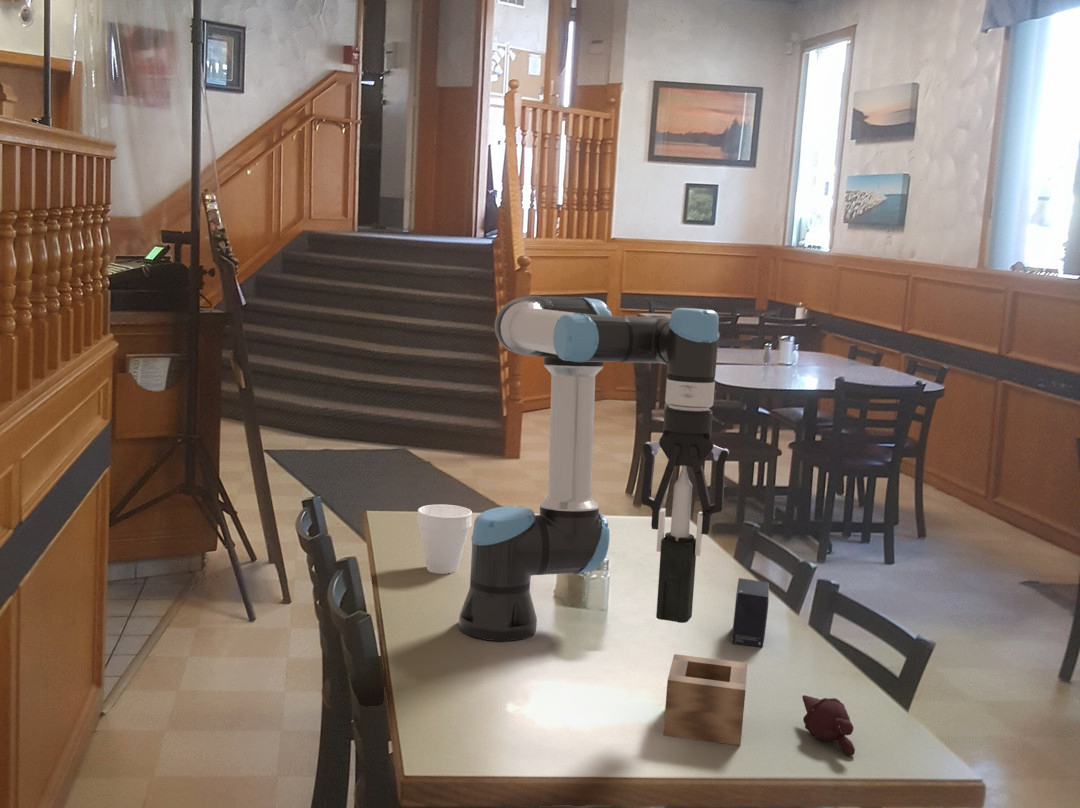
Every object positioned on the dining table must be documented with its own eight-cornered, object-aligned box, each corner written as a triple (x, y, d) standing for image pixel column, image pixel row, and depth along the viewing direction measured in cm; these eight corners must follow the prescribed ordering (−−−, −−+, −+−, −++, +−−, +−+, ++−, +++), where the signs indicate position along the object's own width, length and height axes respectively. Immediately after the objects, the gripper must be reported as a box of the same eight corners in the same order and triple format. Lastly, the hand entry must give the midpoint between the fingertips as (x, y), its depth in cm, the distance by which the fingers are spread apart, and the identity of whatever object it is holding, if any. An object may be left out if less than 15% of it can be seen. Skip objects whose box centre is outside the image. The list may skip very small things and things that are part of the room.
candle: (693, 615, 190) (704, 463, 187) (685, 623, 185) (696, 467, 182) (662, 610, 192) (672, 459, 189) (654, 618, 187) (664, 464, 184)
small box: (764, 648, 227) (769, 596, 225) (730, 644, 228) (735, 592, 227) (765, 631, 237) (770, 580, 236) (732, 627, 238) (737, 577, 237)
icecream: (781, 684, 191) (828, 730, 177) (821, 671, 193) (871, 716, 179) (785, 720, 193) (831, 769, 180) (825, 708, 195) (874, 755, 181)
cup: (479, 569, 268) (483, 510, 266) (447, 581, 257) (450, 520, 255) (437, 558, 274) (439, 501, 272) (403, 569, 264) (406, 510, 262)
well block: (663, 734, 184) (667, 680, 183) (669, 705, 196) (674, 654, 195) (740, 745, 182) (745, 690, 181) (742, 715, 194) (747, 663, 192)
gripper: (627, 405, 183) (618, 550, 186) (746, 414, 179) (735, 563, 182) (634, 400, 190) (625, 540, 193) (749, 409, 186) (738, 552, 189)
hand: (678, 551), depth 187 cm, fingers closed on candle, 5 cm apart
